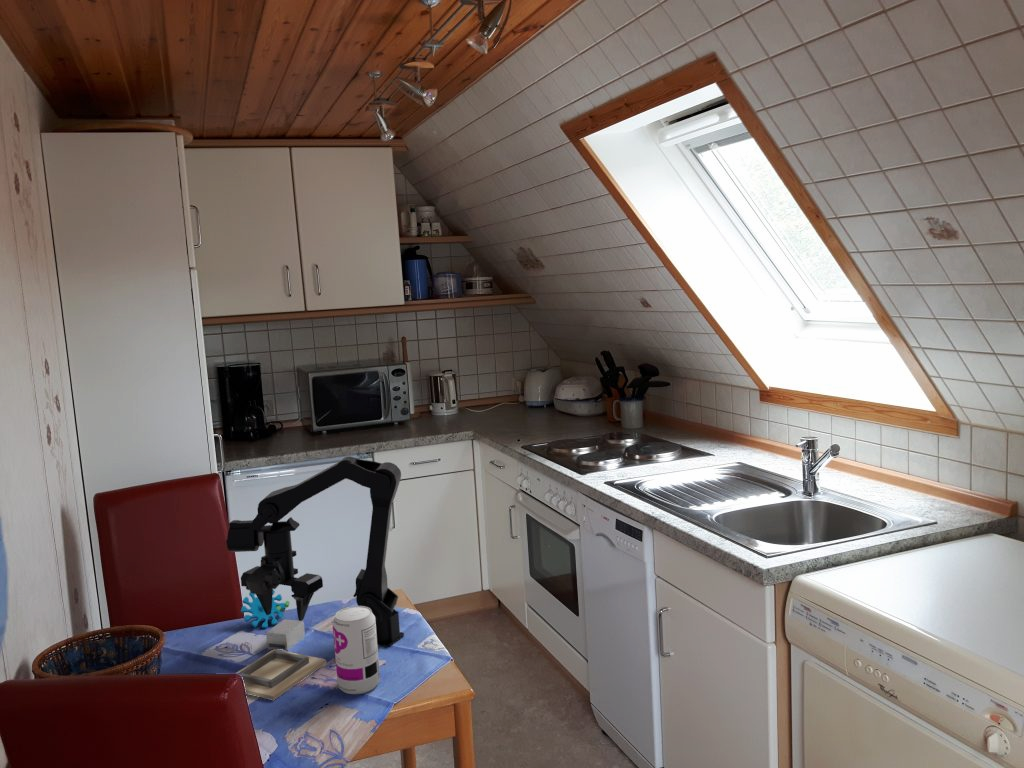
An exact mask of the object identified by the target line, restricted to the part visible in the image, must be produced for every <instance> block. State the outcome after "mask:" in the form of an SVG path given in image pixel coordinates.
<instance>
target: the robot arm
mask: <svg viewBox="0 0 1024 768" xmlns="http://www.w3.org/2000/svg"><path fill="white" fill-rule="evenodd" d="M401 479H402V473H401V469H400V468H399V467H398V465H396V464H395V463H393V462H388V461H386V462H378V461H375V460H366V459H360V458H356V457H353V456H345V457H343V458H342V459H341V460H340V461H338V462H336V463H334V464H332V465H331V466H329V467H327V468H324V469H323V470H322V471H319V472H318V473H316V474H314V475H312V476H310V477H309V478H306V479H305V480H303V481H301V482H300V483H298V484H295V485H294V484H293V485H291V486H286V487H282V488H279V489H276V490H273V491H271V492H270V493H269V494H267V495H266V496H265V497H264V498H263V499H262V500H260V501H259V503H258V504H257V514H256V516H255V518H253V519H252V520H239V519H234V520H231V521H230V522H228V527H229V528H228V531H227V537H226V542H225V543H226V547H227V550H228V552H230V553H236V552H237V553H241V552H245V553H247V552H257V551H259V548H260V547H262V546H264V547H263V548H264V554H265V555H264V556H261V558H260V565H256V566H254V567H252V568H251V569H248V570H246V571H244V572H243V573H242V575H241V576H240V583H241V585H240V586H241V587H245V589H246V590H247V591H249V593H250V592H251V593H253V594H254V593H255V596H256V598H257V597H258V599H259V601H260V603H261V605H262V607H263V609H264V611H265V613H266V615H270V614H271V610H272V598H273V596H274V594H273V590H276V589H277V588H278V587H279V586H286V587H287V586H288V587H290V588H291V589H290V590H291V592H292V593H293V594H291V597H292V598H293V599H294V600H295V605H296V606H295V607H296V613H297V614H296V615H297V619H298V621H304V620H305V619H304V618H305V615H306V613H307V611H308V607H309V604H310V602H311V600H312V598H313V596H314V595H315V593H316V592H317V591H319V590H320V589H321V588H324V584H323V583H324V581H323V577H322V576H321V575H320V574H313V573H308V572H306V573H305V574H303V575H301V576H299V577H295V576H296V575H298V574H299V570H298V569H299V568H295V567H294V557H296V556H297V550H293V545H292V537H291V536H292V535H291V532H294V531H296V530H297V529H298V528H299V527H300V523H299V522H298V521H296V520H294V519H293V517H291V516H290V517H289V518H288V519H287V520H284V521H282V519H283V518H285V517H286V516H287V515H288V514H290V512H292V511H294V509H296V508H297V506H299V505H300V504H301V503H303V502H305V501H307V500H308V499H311V498H312V497H314V496H316V495H318V494H320V493H321V492H323V491H325V490H327V489H329V488H331V487H333V486H334V485H336V484H339V483H340V482H343V481H344V480H348V481H349V480H350V481H352V482H354V483H356V484H357V485H360V486H361V487H365V488H368V489H369V496H370V501H371V505H372V511H371V522H370V531H369V538H368V548H367V555H366V563H365V564H366V565H365V569H363V568H361V569H360V571H359V572H358V575H357V576H356V578H355V592H354V594H353V597H354V598H356V599H355V601H356V606H365V607H368V608H370V609H371V611H372V613H373V614H374V616H375V621H376V634H377V646H380V647H386V648H388V647H391V646H392V645H393V644H395V643H396V642H397V641H398V640H401V639H402V637H404V636H405V632H402V631H401V632H400V619H399V618H400V615H399V611H398V610H396V609H395V607H396V606H397V602H398V599H399V595H398V594H396V593H395V591H392V590H391V588H389V587H388V585H389V584H388V575H387V571H386V558H387V557H386V556H387V550H388V548H387V547H388V541H389V534H390V533H389V532H390V524H391V523H390V522H391V513H392V507H393V503H394V499H395V497H396V494H397V492H398V488H399V485H400V482H401ZM280 520H281V521H280ZM268 523H269V525H267V524H268ZM270 524H271V525H270Z"/></svg>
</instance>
